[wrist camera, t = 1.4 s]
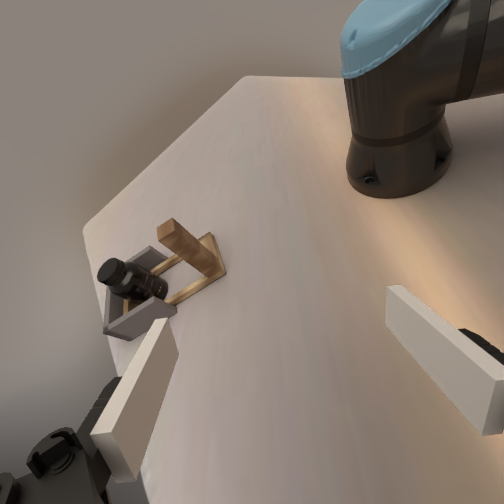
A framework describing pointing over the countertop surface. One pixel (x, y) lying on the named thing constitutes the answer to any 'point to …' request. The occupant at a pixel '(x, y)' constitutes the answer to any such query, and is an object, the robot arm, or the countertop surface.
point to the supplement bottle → (131, 281)
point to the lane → (142, 314)
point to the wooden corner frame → (187, 259)
